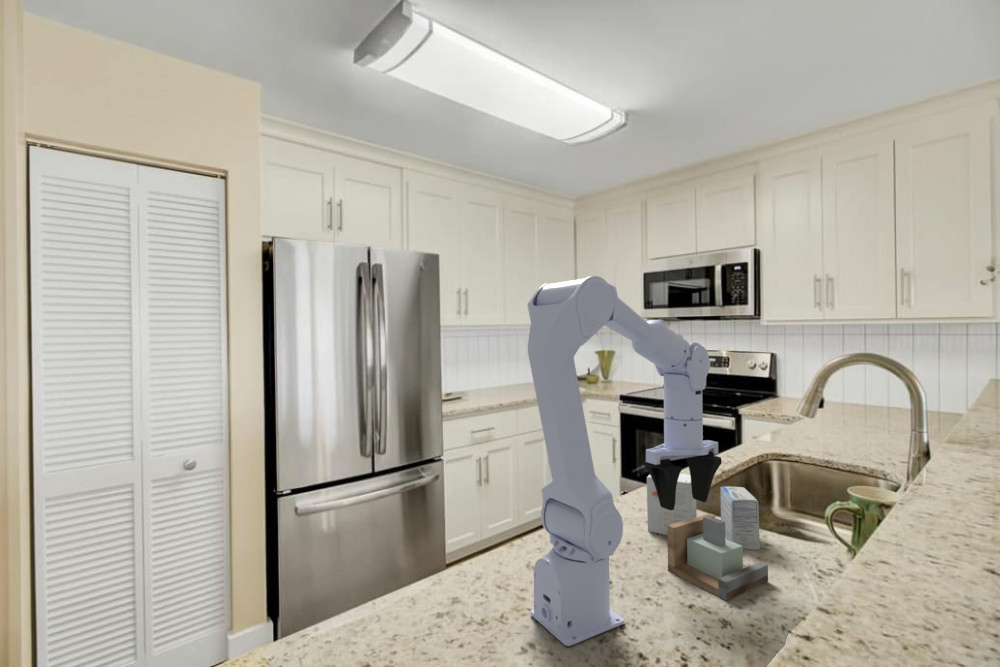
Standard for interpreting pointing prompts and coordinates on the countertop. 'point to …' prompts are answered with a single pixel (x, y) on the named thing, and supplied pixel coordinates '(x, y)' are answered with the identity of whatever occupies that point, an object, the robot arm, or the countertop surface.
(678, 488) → the small box
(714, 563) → the mint block with tab
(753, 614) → the countertop surface
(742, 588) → the board
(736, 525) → the medicine box
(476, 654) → the countertop surface
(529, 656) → the countertop surface
